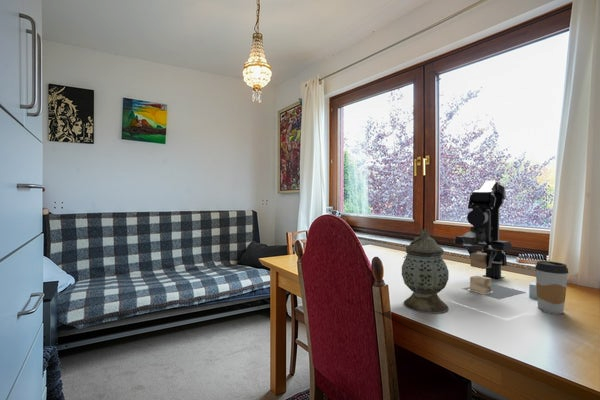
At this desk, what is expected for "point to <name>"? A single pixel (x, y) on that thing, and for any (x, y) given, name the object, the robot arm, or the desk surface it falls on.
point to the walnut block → (479, 260)
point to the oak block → (480, 284)
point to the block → (532, 290)
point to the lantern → (425, 275)
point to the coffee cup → (551, 286)
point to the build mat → (499, 292)
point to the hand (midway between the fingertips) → (480, 265)
